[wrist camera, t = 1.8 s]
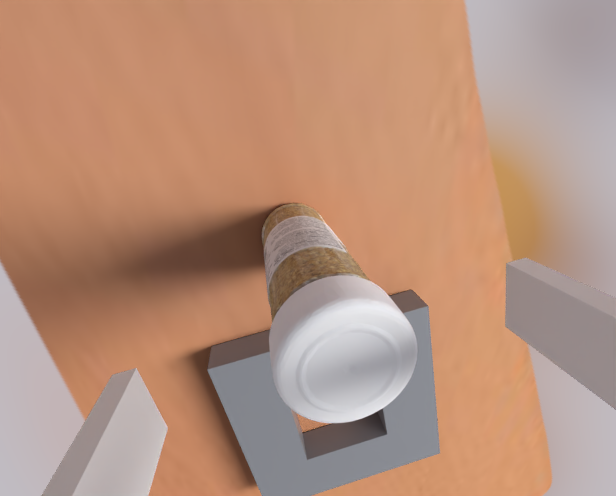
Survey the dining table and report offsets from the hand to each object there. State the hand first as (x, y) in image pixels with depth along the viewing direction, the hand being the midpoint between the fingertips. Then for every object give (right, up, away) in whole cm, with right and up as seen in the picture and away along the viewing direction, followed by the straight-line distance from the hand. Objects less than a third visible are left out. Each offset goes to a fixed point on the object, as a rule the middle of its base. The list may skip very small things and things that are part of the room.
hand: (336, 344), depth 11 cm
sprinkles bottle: (-2, +4, +11) cm, 12 cm away
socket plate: (+1, -9, +16) cm, 19 cm away
